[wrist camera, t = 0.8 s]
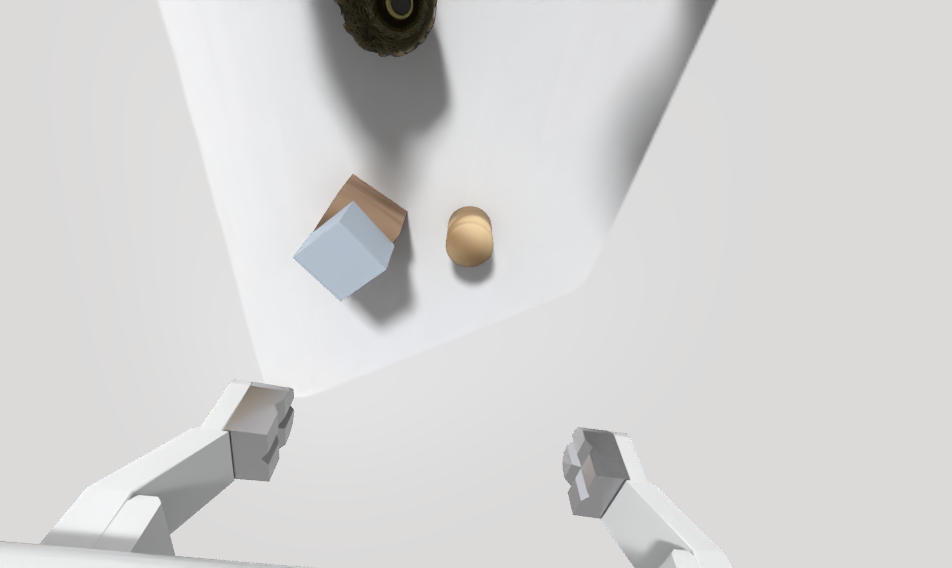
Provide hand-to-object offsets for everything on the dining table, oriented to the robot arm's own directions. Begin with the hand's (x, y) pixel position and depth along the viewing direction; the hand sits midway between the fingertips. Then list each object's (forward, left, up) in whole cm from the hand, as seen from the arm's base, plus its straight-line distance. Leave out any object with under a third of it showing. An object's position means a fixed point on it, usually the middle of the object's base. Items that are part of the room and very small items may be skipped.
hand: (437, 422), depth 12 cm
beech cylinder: (+6, +8, -37) cm, 38 cm away
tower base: (+14, -1, -37) cm, 40 cm away
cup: (-4, -12, -37) cm, 39 cm away
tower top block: (+14, -1, -31) cm, 34 cm away
